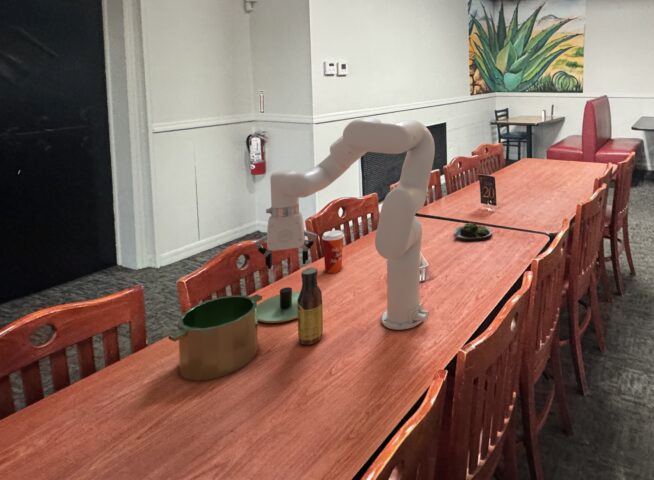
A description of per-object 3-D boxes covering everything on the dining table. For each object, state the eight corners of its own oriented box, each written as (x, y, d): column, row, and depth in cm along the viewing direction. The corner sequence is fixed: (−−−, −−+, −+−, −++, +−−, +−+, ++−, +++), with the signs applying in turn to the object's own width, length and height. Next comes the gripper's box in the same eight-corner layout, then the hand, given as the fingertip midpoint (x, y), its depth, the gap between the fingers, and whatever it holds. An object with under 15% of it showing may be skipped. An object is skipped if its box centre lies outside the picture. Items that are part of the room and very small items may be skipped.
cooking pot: (280, 344, 121) (279, 299, 121) (193, 396, 102) (192, 342, 101) (240, 328, 128) (240, 286, 128) (152, 374, 109) (151, 324, 108)
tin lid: (329, 302, 144) (328, 283, 143) (280, 330, 128) (279, 309, 127) (291, 290, 151) (290, 272, 151) (240, 316, 135) (239, 296, 135)
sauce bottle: (303, 333, 126) (302, 264, 126) (326, 332, 127) (325, 264, 126) (294, 347, 120) (293, 275, 119) (318, 346, 121) (317, 274, 120)
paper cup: (336, 275, 163) (336, 237, 162) (317, 273, 164) (317, 235, 164) (348, 266, 171) (348, 230, 170) (330, 264, 172) (330, 228, 171)
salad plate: (450, 228, 214) (450, 218, 214) (487, 225, 218) (487, 216, 218) (453, 242, 196) (454, 232, 195) (494, 240, 200) (494, 229, 199)
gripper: (251, 217, 131) (253, 274, 132) (315, 210, 137) (316, 265, 138) (256, 210, 138) (258, 264, 139) (316, 204, 144) (318, 256, 145)
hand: (287, 265), depth 139 cm, fingers open, 9 cm apart
